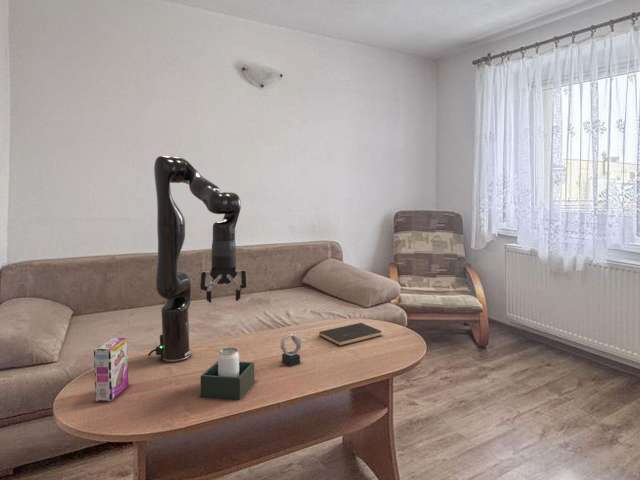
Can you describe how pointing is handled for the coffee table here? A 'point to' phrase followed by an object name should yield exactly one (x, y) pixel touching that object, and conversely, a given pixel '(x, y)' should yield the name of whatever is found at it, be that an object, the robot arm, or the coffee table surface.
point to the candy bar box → (111, 369)
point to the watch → (291, 357)
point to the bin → (227, 382)
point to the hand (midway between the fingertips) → (223, 301)
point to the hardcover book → (350, 334)
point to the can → (228, 362)
